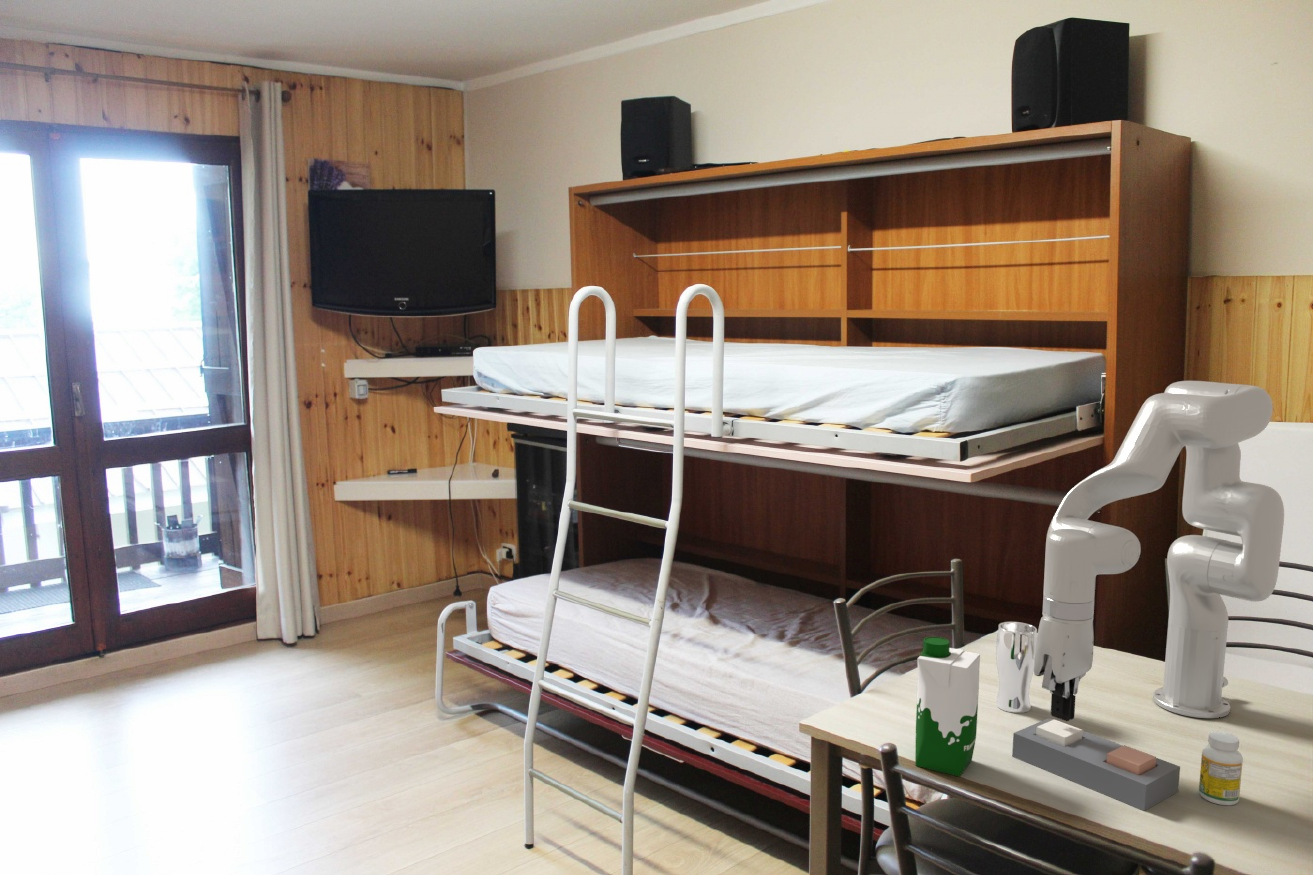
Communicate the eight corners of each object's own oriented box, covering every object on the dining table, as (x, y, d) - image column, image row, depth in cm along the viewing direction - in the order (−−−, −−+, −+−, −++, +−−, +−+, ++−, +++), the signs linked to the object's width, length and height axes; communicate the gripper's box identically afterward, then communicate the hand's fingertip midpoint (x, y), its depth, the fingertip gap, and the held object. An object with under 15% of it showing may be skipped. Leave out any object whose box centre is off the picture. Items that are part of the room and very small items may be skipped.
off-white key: (1052, 739, 170) (1054, 719, 169) (1081, 750, 166) (1082, 729, 165) (1035, 747, 167) (1036, 726, 166) (1063, 758, 163) (1065, 737, 162)
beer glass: (1027, 700, 191) (1032, 621, 189) (1037, 715, 184) (1042, 634, 182) (989, 698, 191) (993, 620, 189) (997, 713, 185) (1002, 632, 182)
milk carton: (924, 746, 171) (930, 630, 168) (980, 759, 166) (986, 640, 163) (907, 766, 163) (913, 645, 161) (964, 781, 159) (971, 656, 156)
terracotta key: (1122, 766, 160) (1124, 745, 160) (1154, 778, 156) (1156, 756, 156) (1105, 775, 157) (1107, 753, 157) (1137, 787, 153) (1139, 765, 153)
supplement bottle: (1234, 810, 150) (1240, 747, 149) (1194, 798, 154) (1199, 737, 153) (1242, 796, 155) (1248, 735, 153) (1203, 785, 158) (1208, 726, 157)
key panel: (1047, 740, 173) (1048, 718, 173) (1178, 791, 156) (1180, 766, 155) (1012, 756, 167) (1013, 732, 167) (1144, 810, 150) (1146, 785, 149)
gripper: (1072, 593, 170) (1067, 698, 173) (1019, 611, 161) (1014, 721, 164) (1115, 604, 164) (1109, 713, 167) (1063, 623, 156) (1057, 738, 158)
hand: (1062, 717), depth 166 cm, fingers closed
